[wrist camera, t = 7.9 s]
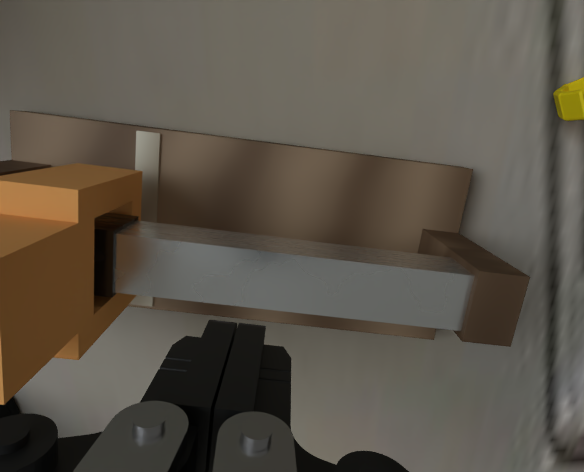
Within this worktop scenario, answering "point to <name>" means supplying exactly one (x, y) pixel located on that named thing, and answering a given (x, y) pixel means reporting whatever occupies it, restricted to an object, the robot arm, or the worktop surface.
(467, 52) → the worktop surface
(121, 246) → the grey square bar
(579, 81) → the watch
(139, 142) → the rig
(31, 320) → the collar
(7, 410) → the aerosol can
